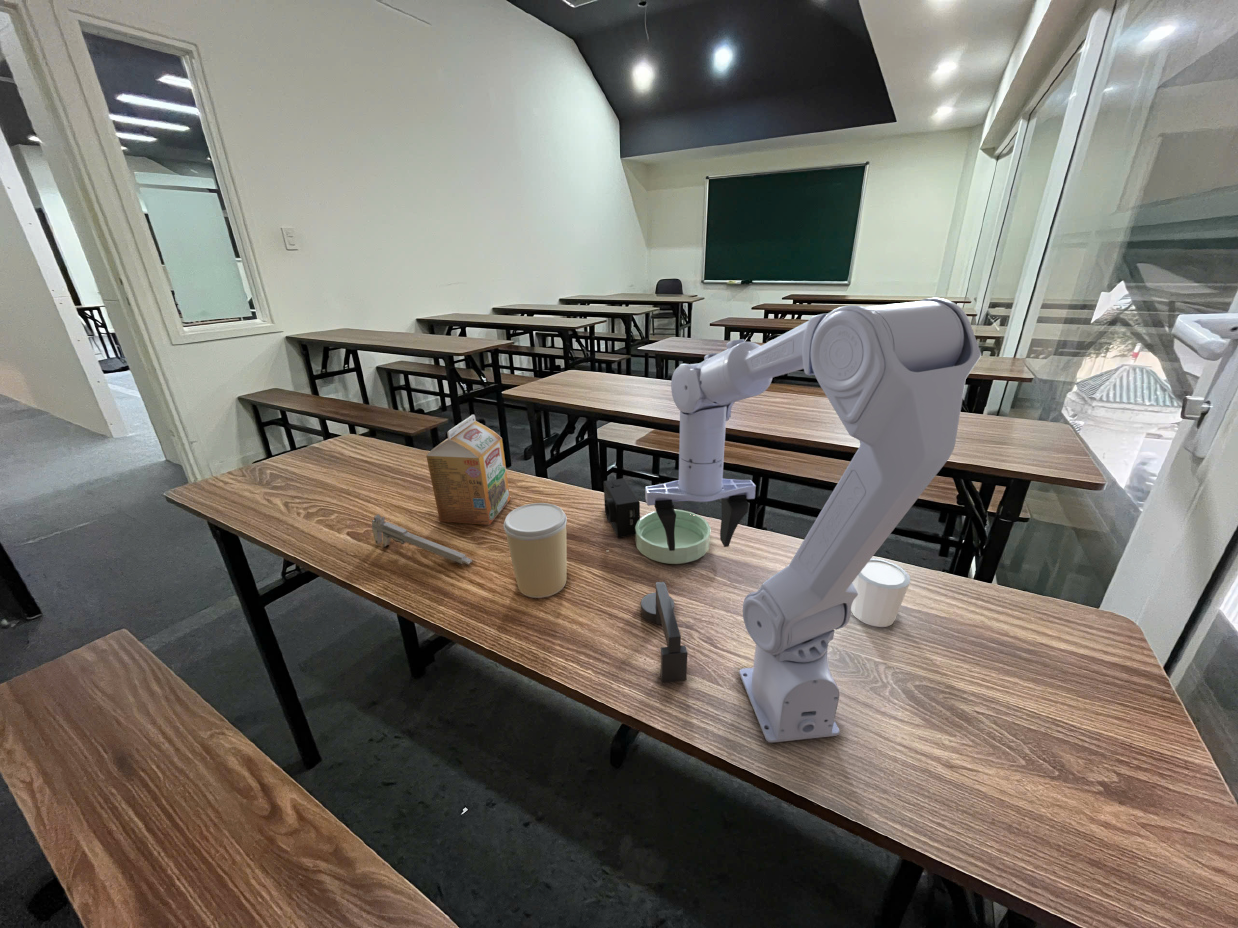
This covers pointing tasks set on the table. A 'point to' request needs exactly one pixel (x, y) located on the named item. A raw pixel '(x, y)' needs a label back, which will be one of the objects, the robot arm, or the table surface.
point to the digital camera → (621, 507)
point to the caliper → (412, 540)
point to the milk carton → (469, 474)
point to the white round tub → (879, 592)
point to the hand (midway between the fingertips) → (697, 544)
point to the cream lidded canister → (538, 548)
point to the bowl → (688, 538)
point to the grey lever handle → (666, 633)
